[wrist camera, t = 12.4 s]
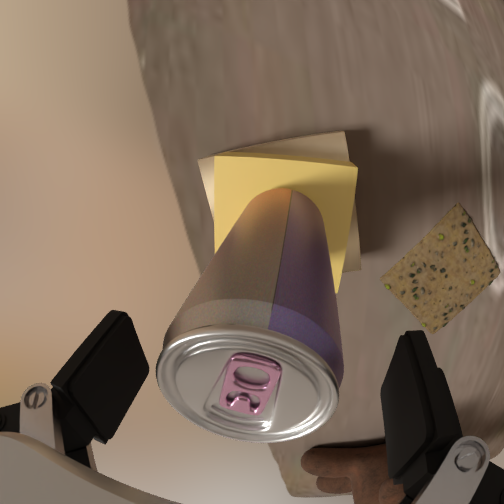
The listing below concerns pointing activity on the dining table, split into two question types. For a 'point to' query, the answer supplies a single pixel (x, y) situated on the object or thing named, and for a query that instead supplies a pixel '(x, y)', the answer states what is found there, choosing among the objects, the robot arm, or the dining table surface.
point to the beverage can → (259, 329)
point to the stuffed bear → (354, 473)
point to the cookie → (443, 271)
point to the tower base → (306, 146)
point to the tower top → (289, 177)
